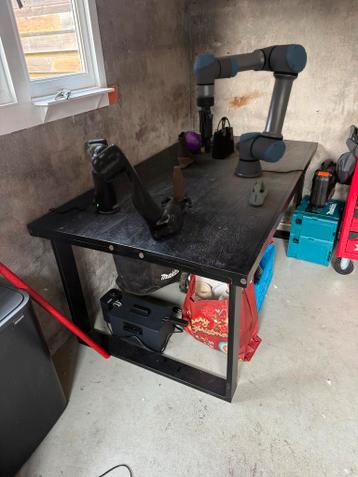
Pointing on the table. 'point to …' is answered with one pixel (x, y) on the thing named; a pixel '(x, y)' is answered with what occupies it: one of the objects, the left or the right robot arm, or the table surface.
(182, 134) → the boot
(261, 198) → the ballet flat
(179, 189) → the bottle
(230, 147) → the handbag
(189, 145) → the decorative orb
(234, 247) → the table surface
